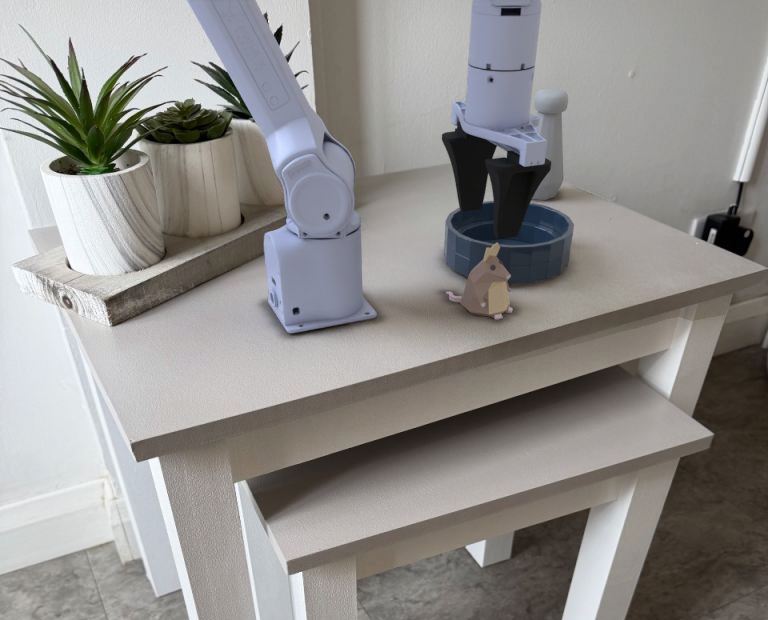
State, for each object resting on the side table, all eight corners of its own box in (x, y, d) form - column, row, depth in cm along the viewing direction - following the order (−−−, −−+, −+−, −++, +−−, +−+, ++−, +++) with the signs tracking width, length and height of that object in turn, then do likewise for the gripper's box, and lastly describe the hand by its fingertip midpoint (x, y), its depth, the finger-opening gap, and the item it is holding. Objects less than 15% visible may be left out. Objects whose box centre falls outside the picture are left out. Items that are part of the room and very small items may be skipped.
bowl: (478, 296, 84) (481, 255, 81) (424, 248, 94) (425, 210, 91) (592, 275, 88) (599, 235, 85) (528, 230, 98) (533, 194, 95)
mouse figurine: (460, 285, 86) (464, 224, 82) (521, 307, 82) (528, 243, 78) (430, 301, 83) (432, 238, 79) (492, 324, 79) (497, 260, 75)
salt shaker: (560, 203, 106) (574, 96, 97) (517, 200, 106) (528, 94, 98) (561, 189, 110) (575, 85, 102) (520, 186, 111) (530, 83, 102)
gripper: (587, 78, 64) (562, 243, 72) (502, 45, 74) (490, 193, 83) (510, 86, 62) (494, 254, 70) (434, 51, 72) (428, 202, 81)
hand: (487, 222), depth 76 cm, fingers open, 7 cm apart
